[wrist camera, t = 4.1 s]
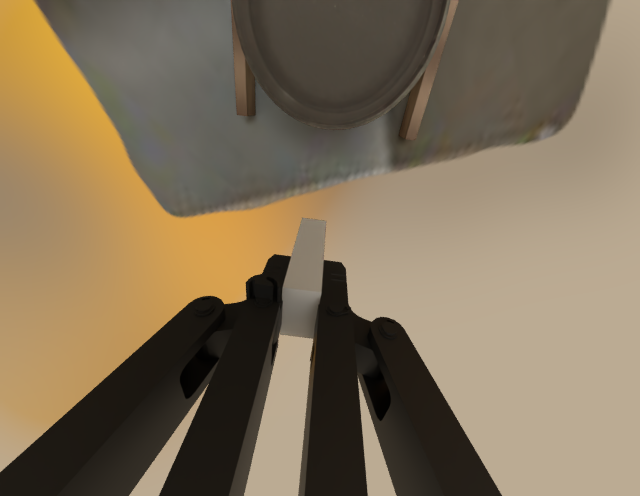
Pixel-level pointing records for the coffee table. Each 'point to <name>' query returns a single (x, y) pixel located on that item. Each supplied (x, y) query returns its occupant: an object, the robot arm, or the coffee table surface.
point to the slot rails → (415, 101)
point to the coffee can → (338, 54)
